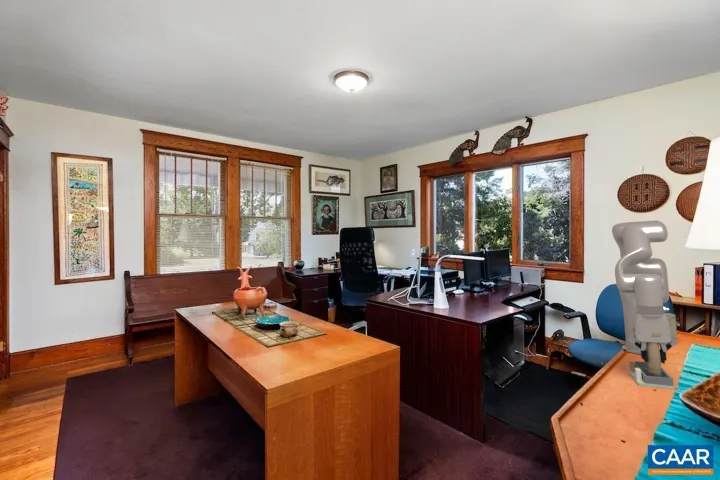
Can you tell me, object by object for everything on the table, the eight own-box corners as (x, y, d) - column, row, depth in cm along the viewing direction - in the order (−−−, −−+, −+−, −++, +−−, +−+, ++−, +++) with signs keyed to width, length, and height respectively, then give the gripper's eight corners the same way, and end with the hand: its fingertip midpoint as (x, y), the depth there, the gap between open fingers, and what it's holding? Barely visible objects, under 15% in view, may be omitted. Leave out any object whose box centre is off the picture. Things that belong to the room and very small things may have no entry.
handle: (644, 369, 127) (641, 328, 127) (667, 373, 122) (664, 330, 123) (642, 373, 124) (638, 331, 124) (665, 377, 119) (662, 333, 119)
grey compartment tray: (626, 369, 137) (625, 357, 138) (657, 371, 133) (656, 360, 133) (638, 385, 121) (637, 372, 122) (674, 389, 117) (672, 376, 117)
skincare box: (663, 338, 175) (661, 314, 176) (657, 336, 180) (655, 313, 180) (677, 338, 174) (675, 314, 175) (671, 336, 179) (669, 312, 179)
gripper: (676, 309, 123) (680, 360, 123) (618, 307, 131) (622, 356, 130) (684, 312, 117) (689, 367, 116) (623, 311, 124) (627, 362, 123)
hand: (653, 361), depth 123 cm, fingers closed on handle, 4 cm apart
